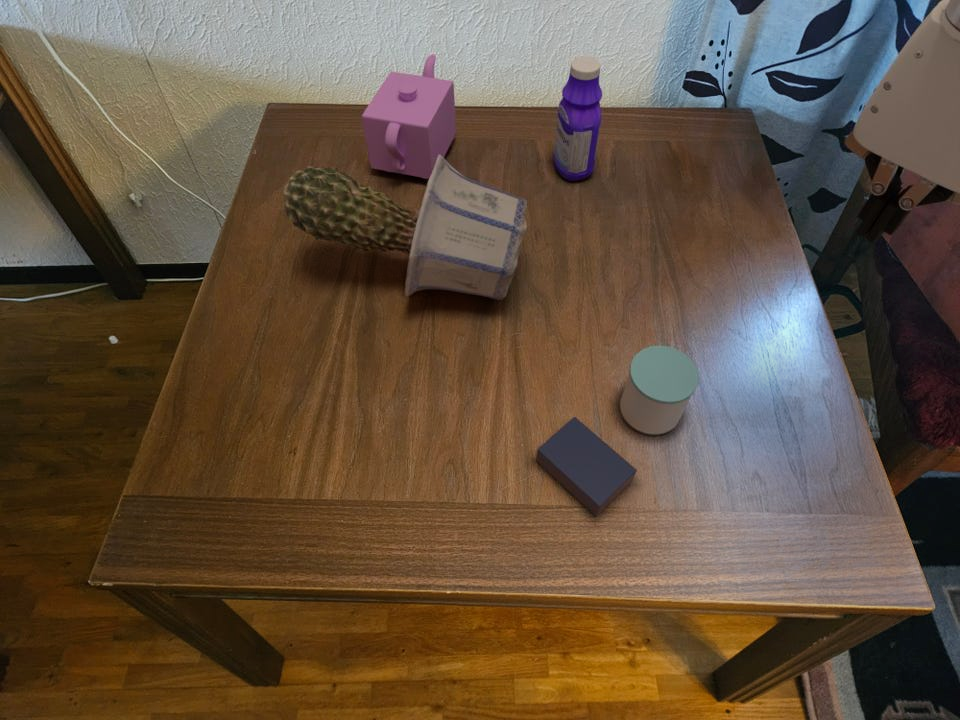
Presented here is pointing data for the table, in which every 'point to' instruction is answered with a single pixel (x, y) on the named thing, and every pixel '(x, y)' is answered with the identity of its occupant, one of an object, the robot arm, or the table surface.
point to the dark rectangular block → (585, 466)
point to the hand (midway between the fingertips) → (871, 230)
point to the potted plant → (419, 226)
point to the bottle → (579, 120)
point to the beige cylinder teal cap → (658, 390)
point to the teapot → (410, 122)
